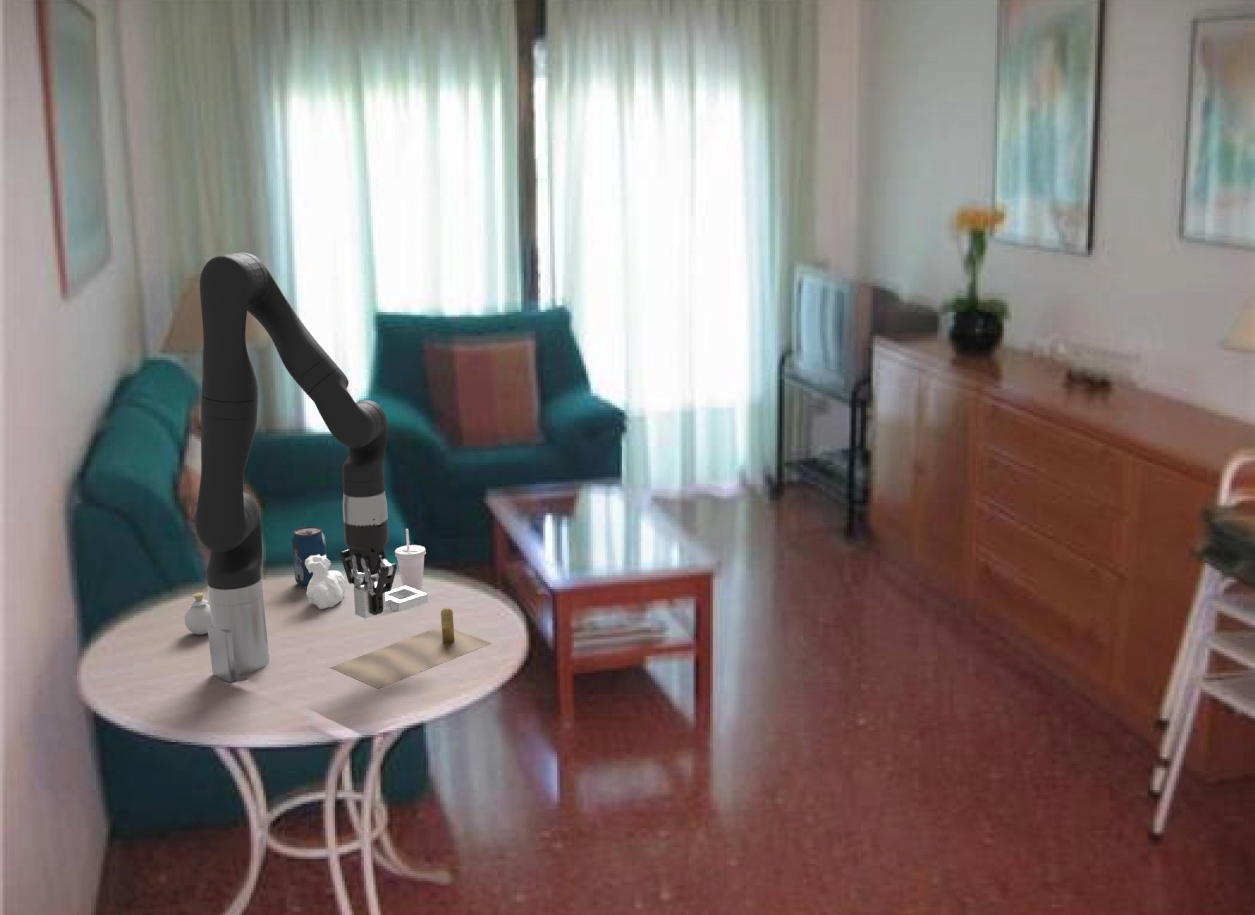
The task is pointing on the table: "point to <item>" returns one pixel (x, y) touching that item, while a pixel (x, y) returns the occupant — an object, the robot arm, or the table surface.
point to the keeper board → (411, 654)
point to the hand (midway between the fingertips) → (370, 610)
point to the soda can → (306, 551)
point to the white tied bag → (324, 582)
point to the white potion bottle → (198, 615)
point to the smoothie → (411, 564)
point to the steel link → (388, 599)
